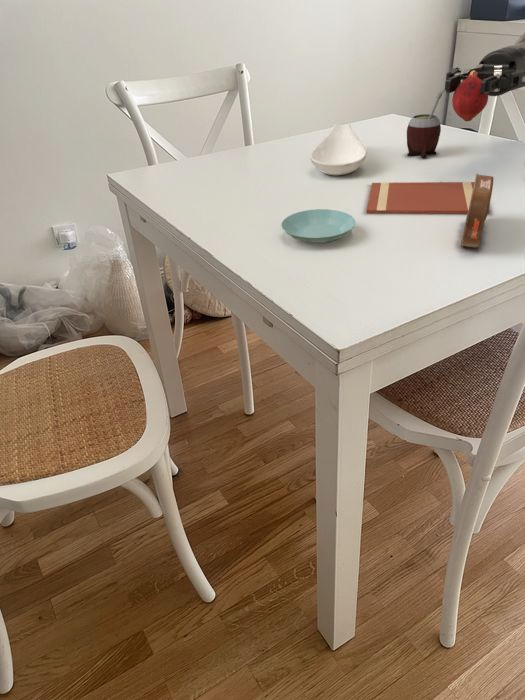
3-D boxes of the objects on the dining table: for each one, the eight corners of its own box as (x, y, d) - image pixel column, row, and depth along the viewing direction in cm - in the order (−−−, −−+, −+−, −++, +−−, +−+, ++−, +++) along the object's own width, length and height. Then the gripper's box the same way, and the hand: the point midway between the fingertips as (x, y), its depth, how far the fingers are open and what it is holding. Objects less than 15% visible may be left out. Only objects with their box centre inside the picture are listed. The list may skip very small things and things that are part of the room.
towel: (480, 185, 101) (480, 181, 101) (488, 214, 89) (489, 210, 89) (372, 185, 106) (372, 182, 106) (366, 213, 94) (366, 210, 94)
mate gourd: (402, 151, 124) (407, 79, 115) (438, 149, 123) (445, 76, 114) (408, 160, 117) (414, 85, 109) (445, 158, 117) (454, 82, 108)
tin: (466, 218, 89) (473, 166, 84) (486, 219, 88) (495, 166, 83) (458, 256, 77) (466, 198, 73) (481, 258, 76) (491, 200, 72)
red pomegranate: (480, 126, 92) (486, 73, 87) (446, 124, 94) (450, 74, 90) (488, 118, 95) (495, 67, 91) (455, 117, 98) (460, 68, 94)
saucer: (369, 231, 87) (370, 218, 86) (322, 257, 81) (321, 243, 80) (315, 216, 95) (314, 204, 93) (267, 239, 88) (266, 225, 87)
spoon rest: (365, 179, 109) (366, 143, 105) (307, 181, 111) (306, 145, 107) (367, 148, 128) (368, 116, 124) (317, 150, 130) (317, 119, 126)
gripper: (470, 47, 102) (427, 61, 92) (550, 46, 93) (512, 62, 84) (465, 90, 106) (423, 108, 96) (541, 93, 98) (504, 113, 88)
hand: (465, 86), depth 90 cm, fingers closed on red pomegranate, 5 cm apart
